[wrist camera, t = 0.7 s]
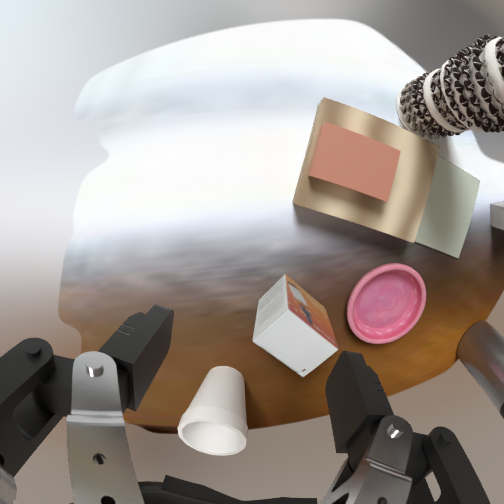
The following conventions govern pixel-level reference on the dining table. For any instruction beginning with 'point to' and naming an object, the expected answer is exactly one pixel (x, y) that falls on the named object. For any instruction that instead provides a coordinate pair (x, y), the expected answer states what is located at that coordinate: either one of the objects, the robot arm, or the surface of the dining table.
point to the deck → (360, 205)
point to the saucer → (386, 303)
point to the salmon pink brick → (354, 161)
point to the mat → (448, 208)
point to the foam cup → (217, 414)
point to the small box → (294, 327)
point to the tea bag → (497, 215)
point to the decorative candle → (457, 94)
